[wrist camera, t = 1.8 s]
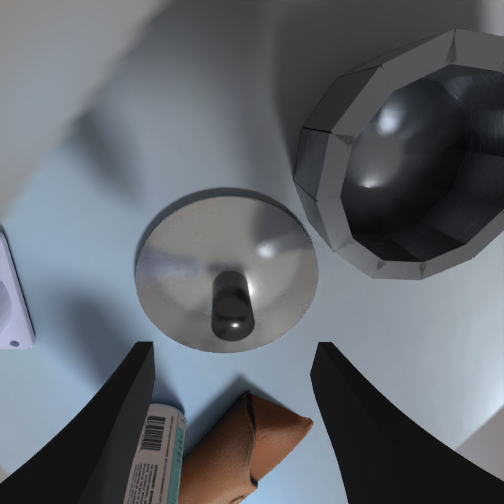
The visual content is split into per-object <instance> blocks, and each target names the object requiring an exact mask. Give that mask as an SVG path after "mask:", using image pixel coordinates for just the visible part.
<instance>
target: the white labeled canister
mask: <svg viewBox="0 0 504 504" xmlns="http://www.w3.org/2000/svg"><path fill="white" fill-rule="evenodd" d="M185 428H186V418H185V416H184V415H183V413H182V412H181V411H180V410H178V409H177V408H175V407H173V406H169V405H166V404H162V403H152V404H150V406H149V409H148V413H147V416H146V419H145V423H144V426H143V429H142V433H141V436H140V440H139V443H138V446H137V450H136V453H135V456H134V460H133V463H132V467H131V471H130V475H129V480H128V484H127V489H126V494H125V499H124V503H123V504H178V495H179V485H180V475H181V465H182V456H183V446H184V436H185Z"/></svg>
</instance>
